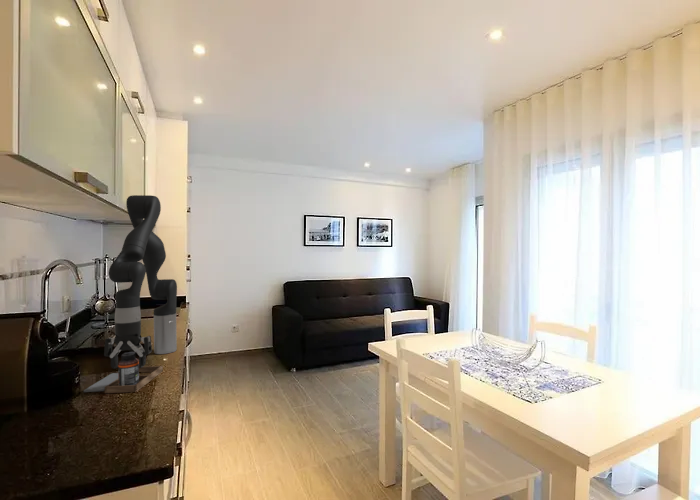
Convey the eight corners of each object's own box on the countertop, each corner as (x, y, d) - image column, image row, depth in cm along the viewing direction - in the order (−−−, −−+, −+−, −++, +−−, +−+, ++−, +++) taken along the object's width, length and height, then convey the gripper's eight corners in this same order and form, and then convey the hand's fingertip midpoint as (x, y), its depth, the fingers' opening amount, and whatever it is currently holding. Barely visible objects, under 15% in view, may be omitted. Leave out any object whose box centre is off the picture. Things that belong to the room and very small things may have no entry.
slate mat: (112, 374, 131) (112, 373, 131) (129, 374, 131) (129, 372, 131) (83, 392, 115) (83, 390, 115) (103, 391, 115) (103, 389, 115)
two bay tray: (136, 372, 133) (135, 366, 133) (162, 371, 134) (162, 365, 134) (104, 393, 114) (104, 387, 114) (136, 391, 114) (136, 385, 114)
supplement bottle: (120, 385, 121) (119, 352, 121) (140, 382, 123) (139, 350, 123) (116, 391, 115) (116, 357, 115) (137, 388, 118) (137, 354, 118)
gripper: (154, 317, 123) (155, 363, 123) (112, 318, 122) (112, 365, 122) (144, 321, 116) (144, 370, 116) (99, 323, 115) (99, 372, 114)
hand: (128, 367), depth 119 cm, fingers open, 8 cm apart
